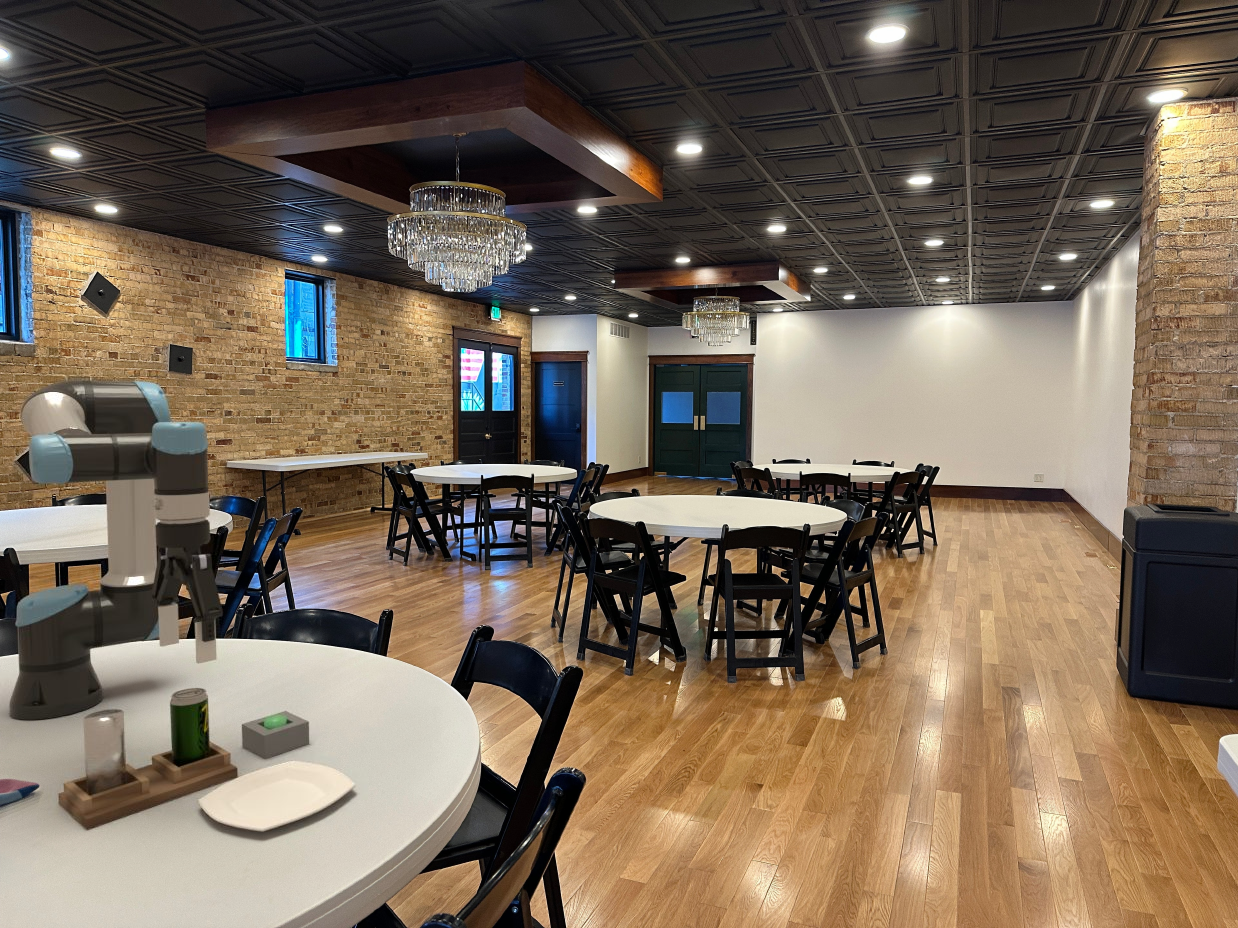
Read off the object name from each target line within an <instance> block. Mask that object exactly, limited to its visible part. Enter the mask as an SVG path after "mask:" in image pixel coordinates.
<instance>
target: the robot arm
mask: <svg viewBox="0 0 1238 928" xmlns="http://www.w3.org/2000/svg"><path fill="white" fill-rule="evenodd" d="M20 420H21V423H22V426H23V428H24V430H25V431H26V432H27V433H28V435H30V436H31V438H30V439H29V443H28V444H29V445H28V454H29V455H28V457H29V458H28V459H29V471H30V477H31V479H32V481H34V482H35V483H37V484H56V485H63V484H73V483H90V482H91V483H93V482H105V488H106V489H105V491H106V492H105V493H106V496H105V497H106V523H107V525H106V526H107V527H106V528H107V551H108V552H107V555H108V556H107V557H108V558H107V559H108V562H107V563H108V570H107V573H106V574H105V575H104V576H103V577H102V578H101V579H100V581H99V583H100V584H99V585H100V586H99V587H100V588H99V589H96V590H90V589H89V588H88V586H87V585H86V584H83V583H76V584H66V585H61V586H55V587H50V588H46V589H43V590H40V591H37V592H34V593H33V592H32V593H31V594H29V595H26V596H25V597H23V598H22V599H20V601H18V603H17V606H16V621H15V627H17V652H18V676H17V679H16V682H15V685H14V689H13V691H12V694H11V697H10V700H9V715H10V716H11V717H12V718H14V719H18V720H27V721H28V720H29V721H30V720H43V719H44V720H45V719H46V720H47V719H51V718H52V719H53V718H58V717H64V716H67V715H71V714H75V713H79V712H82V711H84V710H87V709H90V708H93V707H94V706H96V705H97V704H99V703H101V702H102V700H103V699H104V698H103V697H104V696H103V694H104V693H103V685H102V684H101V682H100V680H99V677H98V675H97V673H96V671H95V668H94V666H93V664H92V661H91V660H92V659H91V650H92V649H97V648H104V647H110V646H116V645H123V644H129V643H137V642H146V641H147V640H152V639H159V647H167V646H171V645H176V644H180V627H179V605H178V602H179V603H180V600H179V598H178V593H179V591H180V589H181V585H183V586H185V587H186V589H187V592H188V595H189V598H190V601H191V604H192V606H193V608H194V609H193V610H194V612H195V614H196V616H195V617H194V619H193V621H192V622H193V623H194V636H195V641H194V642H195V663H196V664H202V663H207V662H211V661H215V660H218V659H217V658H218V657H217V637H216V636H217V631H216V629H217V628H216V619H217V618H219V617H223V615H224V611H223V608H222V603H221V599H220V596H219V591H218V586H217V583H216V578H215V574H214V570H213V564H212V563H213V562H212V554H210V553H205V554H202V553H201V547H202V546H203V545H207V544H208V543H210V541H211V523H210V521H209V520H208V519H206V518H208V517H209V516H210V514H211V513H210V511H211V509H210V491H209V467H208V464H209V462H208V459H209V456H208V448H209V441H208V437H207V428H206V426H205V424H204V423H203V422H200V421H194V422H193V421H172V418H171V411H170V407H169V403H168V399H167V397H166V394H165V392H164V390H163V389H162V387H161V386H160V385H158V384H157V383H155V382H147V381H139V380H82V379H75V380H74V379H73V380H63V381H58V382H54V383H52V384H49V385H47V386H44V387H42V388H39V389H38V390H36V391H35V392H33V393H32V394H30V395H29V396H28V397H27V398H26V399H25V401H24V403H23V404H22V406H21V409H20ZM156 519H157V520H158V522H157V521H156Z"/></svg>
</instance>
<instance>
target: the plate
mask: <svg viewBox="0 0 1238 928" xmlns="http://www.w3.org/2000/svg"><path fill="white" fill-rule="evenodd" d="M355 787H357V784H356V783H354V782H353V781H352V779H350V778H349V777H348V776H347V775H346V774H344V773H342V772H341V771H339V770H337V769H335V768H333V767H330V766H326V765H322V764H317V763H310V762H304V761H297V760H290V761H286V762H283V763H279V764H275V765H270V766H268V767H264V768H261V769H257V770H254V771H251V772H249V773H246V774H244V775H240V776H239V777H235V778H233V779H231V780H230V781H228V782H226V783H225V784H222V785H221V786H219V787H217V788H215V789H214V790H212V791H211V792H209V793H208V794H205V795H203V796H202V797H201V798H199V799H198V800H197V802H198V804H199V806H200V807H201V808H202V810H203V811H204V813H206V815H208V817H210V818H211V819H213V820H214V821H216V822H218V823H219V824H220V823H221V824H223V825H226V826H230V827H233V828H234V827H235V828H238V829H244V830H249V831H256V832H266V831H269V830H273V829H276V828H279V827H282V826H285V825H289V824H290V823H293V822H296V821H299V820H301V819H304V818H307V817H309V816H312V815H314V814H316V813H318V812H320V811H322V810H324V809H326V808H328V807H329V806H331V805H333V804H334V803H336V802H337V801H339V800H340V799H341V798H342V797H344V796H345V795H347V794H348V793H349V792H351V790H353V789H354V788H355Z"/></svg>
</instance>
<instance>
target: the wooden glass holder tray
mask: <svg viewBox="0 0 1238 928" xmlns="http://www.w3.org/2000/svg"><path fill="white" fill-rule="evenodd" d="M231 761H232V760H231V752H229V751H227V750H226V749H225V748H222V747H221V746H219V745H217V744H216V743H214V742H212V741H210V757H208V758H205V759H202V760H199V761H196V762H193V763H190V764H187V765H184V766H181V767H177V766H176V765H174V764H173V763H172V749H171V750H168V751H165V752H161V753H158V754H155V755H152V756H151V764H148V765H145V766H142V767H139V768H136V769H135V767H132V766H131V765H130V764H129V763H126V781H127V784H125V785H122V786H119V787H116V788H113V789H110V790H107V791H104V792H101V793H98V794H94V795H91V796H89V795H87V788H86V776H83V777H79V778H76V779H73V780H71V781H67V782H64V783H63V792H62V791H61V792H59V793H58V795H57V797H58V798H57V799H58V804H59V806H61V807H62V808H63V809H64V810H66V812H68V814H69V815H70V816H71V817H73V818H74V819H75V820H76V821H77V823H79V824H80V825H82V827H84V829H86V831H87V830H90V829H93V828H96V827H100V826H102V825H105V824H108V823H111V822H113V821H116V820H118V819H121V818H124V817H127V816H130V815H134V814H136V813H138V812H139V813H140V812H141V811H146V810H148V809H150V808H152V807H155V806H158V805H161V804H164V803H167V802H170V801H172V800H176V799H178V798H182V797H183V796H184V797H185V796H186V795H190V794H192V793H196V792H199V791H201V790H204V789H207V788H210V787H214V786H215V785H218V784H221V783H224V782H227V781H229V780H230V781H231V780H234V779H236V778H238V774H239V773H238V772H239V771H238V767H237V766H235V765H234V764H232V762H231Z"/></svg>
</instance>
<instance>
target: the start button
mask: <svg viewBox="0 0 1238 928" xmlns="http://www.w3.org/2000/svg"><path fill="white" fill-rule="evenodd" d="M276 714H277V713H276ZM267 716H268V717H267ZM267 716H265V717H266V718H265V719H264V727H265V728H267V729H269V730H271V729H274V728H277V727H280V726H283V725H286V724H287V721H286V715H282V714H277V715H274V714H271V716H270V715H267Z"/></svg>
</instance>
